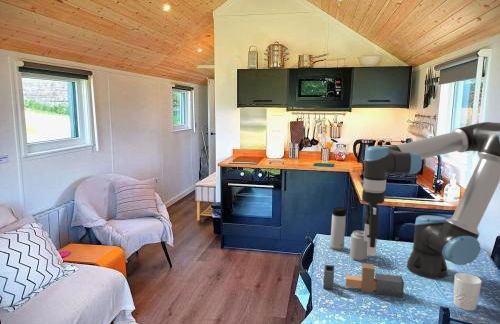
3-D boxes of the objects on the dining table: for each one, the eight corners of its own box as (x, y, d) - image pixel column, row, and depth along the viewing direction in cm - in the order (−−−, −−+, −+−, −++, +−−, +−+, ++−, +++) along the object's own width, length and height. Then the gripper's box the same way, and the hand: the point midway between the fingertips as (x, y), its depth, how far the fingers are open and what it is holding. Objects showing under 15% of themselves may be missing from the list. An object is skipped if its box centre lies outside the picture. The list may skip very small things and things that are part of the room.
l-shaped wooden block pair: (396, 290, 131) (398, 267, 130) (398, 295, 127) (401, 272, 126) (345, 284, 135) (346, 261, 134) (345, 289, 131) (347, 266, 130)
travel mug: (344, 251, 167) (347, 210, 164) (330, 250, 168) (332, 209, 165) (344, 246, 173) (346, 206, 170) (330, 245, 174) (332, 205, 171)
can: (369, 257, 161) (370, 231, 159) (364, 263, 155) (366, 236, 153) (352, 253, 165) (354, 228, 163) (347, 259, 159) (349, 233, 157)
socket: (333, 282, 137) (334, 265, 136) (333, 289, 132) (334, 272, 130) (323, 281, 138) (324, 264, 137) (323, 288, 132) (324, 271, 131)
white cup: (478, 314, 118) (481, 286, 116) (450, 307, 122) (453, 279, 120) (478, 303, 124) (481, 276, 123) (452, 297, 128) (455, 270, 127)
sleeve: (400, 291, 132) (401, 276, 131) (402, 298, 127) (404, 282, 126) (374, 287, 134) (375, 273, 133) (375, 294, 129) (377, 279, 128)
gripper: (360, 182, 139) (356, 235, 142) (365, 198, 115) (361, 260, 118) (380, 184, 137) (376, 236, 141) (390, 200, 113) (385, 263, 117)
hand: (369, 247), depth 129 cm, fingers open, 13 cm apart
